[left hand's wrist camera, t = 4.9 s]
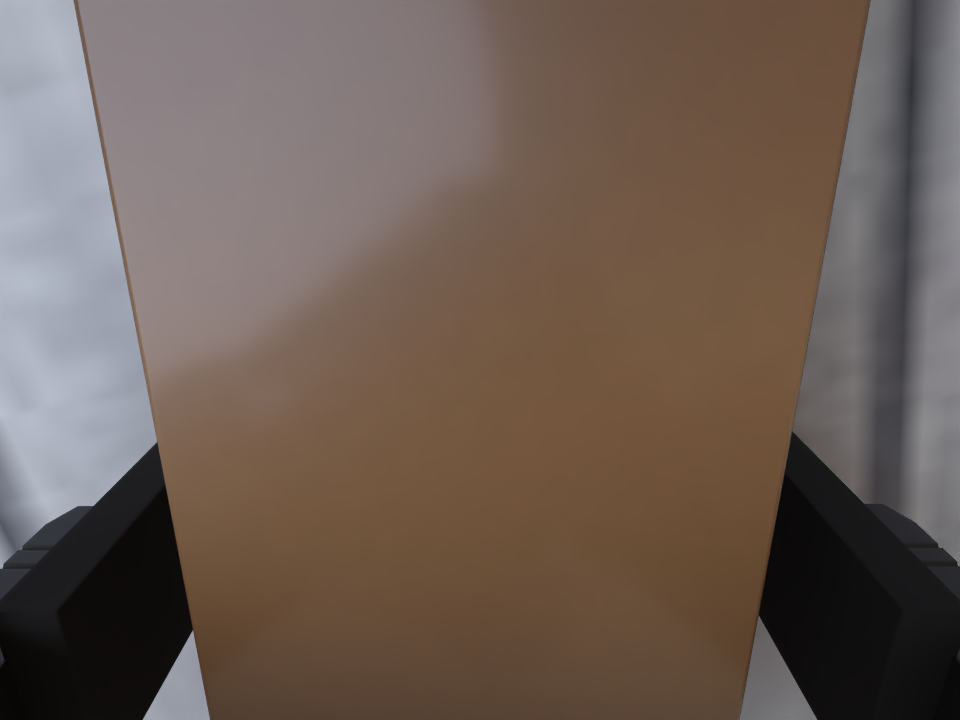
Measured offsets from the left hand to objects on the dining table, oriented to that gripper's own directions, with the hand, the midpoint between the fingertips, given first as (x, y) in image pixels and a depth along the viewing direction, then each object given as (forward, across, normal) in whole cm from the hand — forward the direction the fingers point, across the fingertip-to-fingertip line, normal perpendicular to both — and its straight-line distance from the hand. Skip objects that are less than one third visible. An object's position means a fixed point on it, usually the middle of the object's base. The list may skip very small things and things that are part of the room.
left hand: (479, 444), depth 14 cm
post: (+1, 0, -25) cm, 25 cm away
